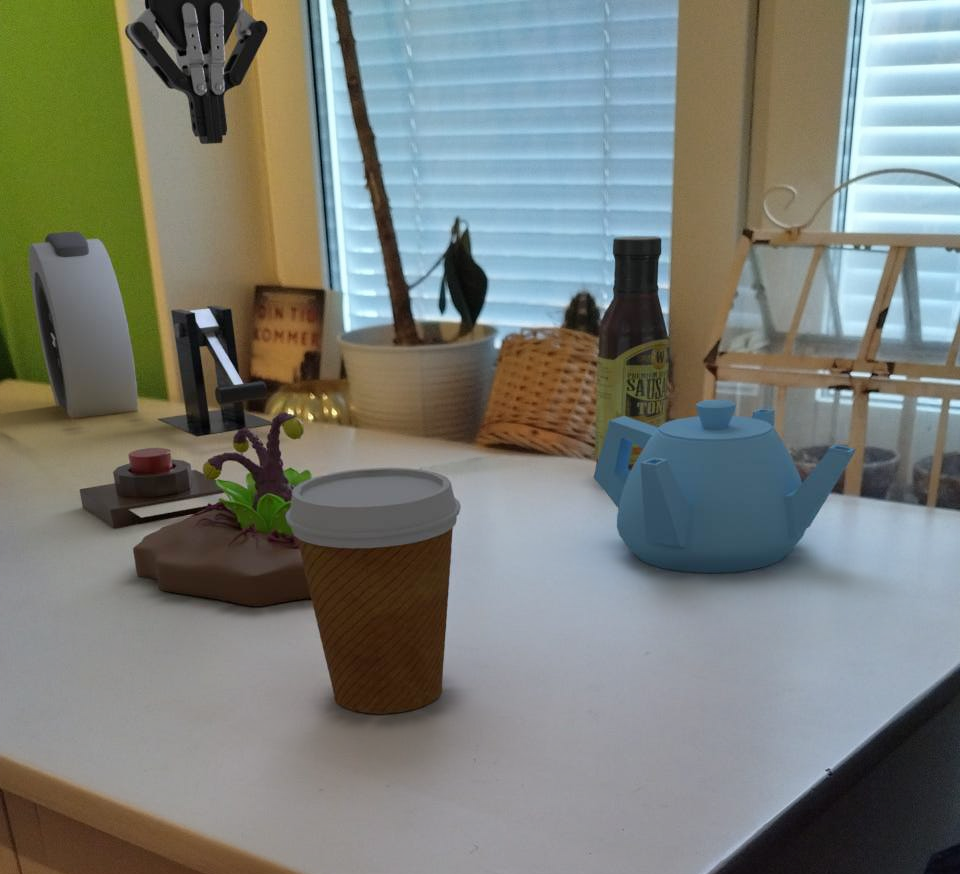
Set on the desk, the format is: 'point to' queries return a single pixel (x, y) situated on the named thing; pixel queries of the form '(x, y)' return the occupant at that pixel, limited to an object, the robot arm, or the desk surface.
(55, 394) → the alarm clock
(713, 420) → the teapot
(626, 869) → the desk surface
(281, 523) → the plant
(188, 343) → the black upright frame
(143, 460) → the button
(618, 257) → the sauce bottle
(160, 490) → the button block
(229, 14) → the robot arm
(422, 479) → the disposable coffee cup
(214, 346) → the lever
